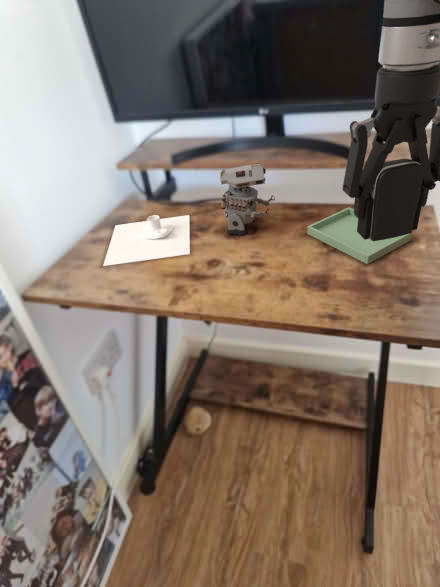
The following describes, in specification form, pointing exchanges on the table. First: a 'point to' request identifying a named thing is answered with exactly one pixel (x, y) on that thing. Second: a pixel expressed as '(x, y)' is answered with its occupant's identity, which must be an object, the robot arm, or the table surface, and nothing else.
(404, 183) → the battery charger
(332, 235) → the tray
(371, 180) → the robot arm
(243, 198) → the figurine
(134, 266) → the table surface
